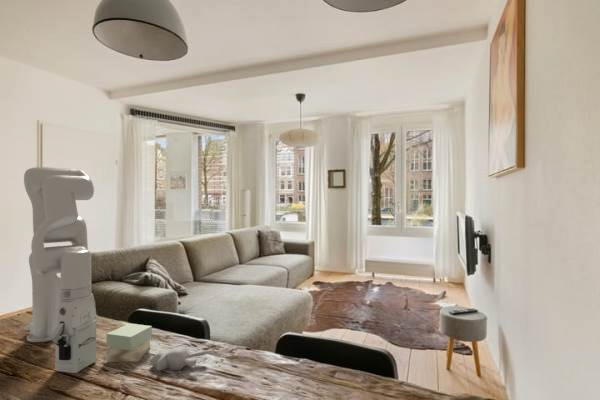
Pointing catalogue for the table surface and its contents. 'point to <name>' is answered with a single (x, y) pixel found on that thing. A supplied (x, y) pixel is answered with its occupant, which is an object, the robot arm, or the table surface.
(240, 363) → the table surface
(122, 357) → the block bottom
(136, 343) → the block top
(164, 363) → the bunny figurine
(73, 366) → the supplement box
